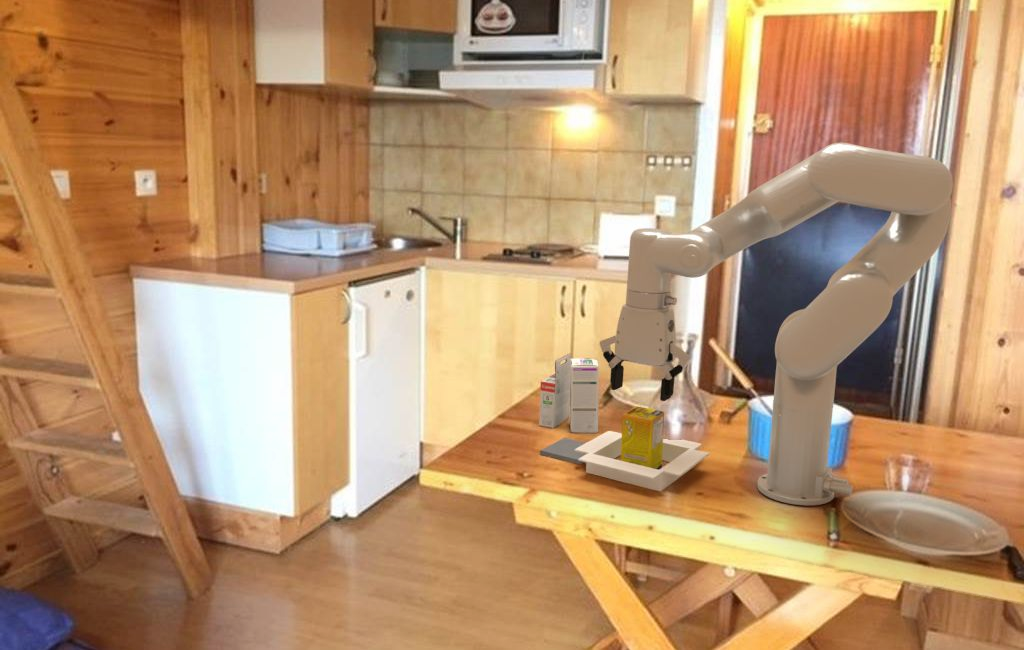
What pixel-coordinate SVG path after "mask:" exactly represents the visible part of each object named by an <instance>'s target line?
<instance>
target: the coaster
mask: <svg viewBox="0 0 1024 650" xmlns="http://www.w3.org/2000/svg"><path fill="white" fill-rule="evenodd" d="M585 443H587V442H585V441H580V440H576V439H573V438H569V437H563V438H561V439H559V440H557V441H555V442H553V443H552V444H550V445H548V446H546V447H544V448H542V449H540V451H539V455H541V456H545V457H549V458H553V459H557V460H561V461H565V462H570V463H573V464H577V465H583V464H584V463H585V464H586V462H582V461H578V459H579V458H581V457H582V456H584V455H586V454H585V453H581V452H577V451H574V450H575V449H576V448H578V447H580V446H582V445H583V444H585Z"/></svg>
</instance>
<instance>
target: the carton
mask: <svg viewBox="0 0 1024 650" xmlns="http://www.w3.org/2000/svg"><path fill="white" fill-rule="evenodd" d="M621 439H622V432H616V431H612V430H607V431H605V432H604V433H602V434H599V435H598V436H596V437H595V438H592V439H591V440H589V441H587V442H586V443H585V444H583V445H582V446H580V447H578V448H576V449H575V450H574V451H577V452H581V453H585V454H586V455H584V456H582V457H581V458H579V459H578V461H582V462H585V466H586V467H585V469H586V470H585V473H586V474H590V475H595V476H597V477H602V478H606V479H610V480H613V481H617V482H621V483H625V484H629V485H633V486H638V487H641V488H645V489H649V490H653V491H657V492H662V491H664V490H665V489H666V488H667V487H669V486H670V485H672V483H674V482H676V481H677V480H678V479H680V478H681V477H683V476H684V475H685V474H686V473H687V472H689V471H690V470H691V469H693V468H695V466H696V465H697V464H699V463H700V462H701V461H703V460H704V459H705V458H706V457H708V456H710V452H707V451H702V450H698V449H699V448H700V447H702V446H703V444H702V443H699V442H696V441H692V440H691V441H690V440H687V439H682V440H668V439H663V449H662V462H663V461H664V462H667V464H665V465H664V466H662V467H661V468H660V469H659V470H658V469H653V468H649V467H645V466H641V465H637V464H633V463H629V462H625V461H621V459H616V458H617V457H619V456H621Z"/></svg>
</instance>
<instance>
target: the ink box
mask: <svg viewBox="0 0 1024 650" xmlns="http://www.w3.org/2000/svg"><path fill="white" fill-rule="evenodd" d="M571 359H572V358H571V353H570V352H569V353H567V354H566V355H564V356H561V357H560V358H558V359H556V360H554V371H555V372H554V374H551V375H549V376H547V377H546V378H544V379H542V380H541V381H540V391H539V392H540V395H539V396H540V397H539V400H540V401H539V422H538V423H539V424H538V425H539V427H545V428H551V429H554V428H556V427H558V426H560V425H561V424H562V423H564V422H565V421H566V420H568V419H570V366H571ZM563 360H565V362H563ZM562 362H563V363H562ZM561 363H562V364H561Z"/></svg>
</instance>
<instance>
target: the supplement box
mask: <svg viewBox="0 0 1024 650" xmlns="http://www.w3.org/2000/svg"><path fill="white" fill-rule="evenodd" d="M621 416H622V417H621V418H622V419H621V421H622V422H621V433H622V439H621V455H620V461H625V462H629V463H633V464H637V465H641V466H645V467H649V468H653V469H658V470H660V469H661V468H663V460H662V449H663V435H664V424H665V423H664V422H665V411H664V410H660V409H655V408H654V409H653V408H649V407H643V406H638V405H637V406H636V405H635V406H633V407H632V408H630V409H629V410H627V411H626V412H624V413H622V415H621Z"/></svg>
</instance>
